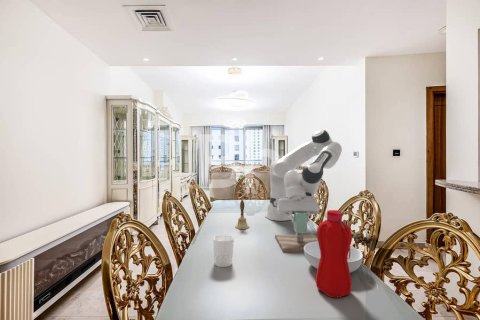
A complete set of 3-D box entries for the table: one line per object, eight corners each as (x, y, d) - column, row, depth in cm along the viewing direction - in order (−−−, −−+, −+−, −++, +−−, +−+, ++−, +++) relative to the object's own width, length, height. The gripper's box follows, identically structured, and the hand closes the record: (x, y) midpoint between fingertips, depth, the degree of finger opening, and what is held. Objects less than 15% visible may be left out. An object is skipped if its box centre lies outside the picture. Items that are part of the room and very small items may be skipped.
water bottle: (336, 304, 74) (338, 216, 73) (311, 286, 84) (312, 208, 83) (360, 297, 77) (362, 213, 77) (333, 281, 87) (334, 206, 87)
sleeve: (293, 229, 127) (293, 211, 126) (303, 229, 127) (304, 211, 127) (296, 232, 122) (296, 213, 122) (307, 232, 122) (307, 213, 122)
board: (274, 237, 134) (274, 234, 134) (313, 237, 135) (313, 234, 135) (282, 251, 114) (282, 248, 114) (327, 251, 115) (328, 248, 115)
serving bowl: (300, 275, 92) (300, 256, 92) (306, 254, 111) (306, 238, 111) (365, 286, 84) (366, 265, 84) (359, 261, 104) (360, 244, 104)
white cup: (217, 269, 96) (218, 242, 96) (210, 261, 103) (210, 236, 103) (237, 265, 99) (237, 239, 99) (228, 258, 106) (228, 233, 106)
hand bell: (232, 228, 151) (233, 200, 151) (238, 224, 158) (238, 198, 158) (246, 229, 148) (246, 201, 147) (251, 226, 155) (251, 199, 155)
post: (295, 239, 126) (295, 229, 126) (301, 239, 126) (301, 229, 126) (297, 241, 123) (297, 231, 123) (303, 241, 123) (303, 231, 123)
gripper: (276, 193, 131) (279, 217, 121) (316, 193, 131) (323, 217, 122) (274, 201, 135) (278, 224, 125) (313, 200, 136) (319, 224, 126)
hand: (300, 221), depth 124 cm, fingers closed on sleeve, 5 cm apart
